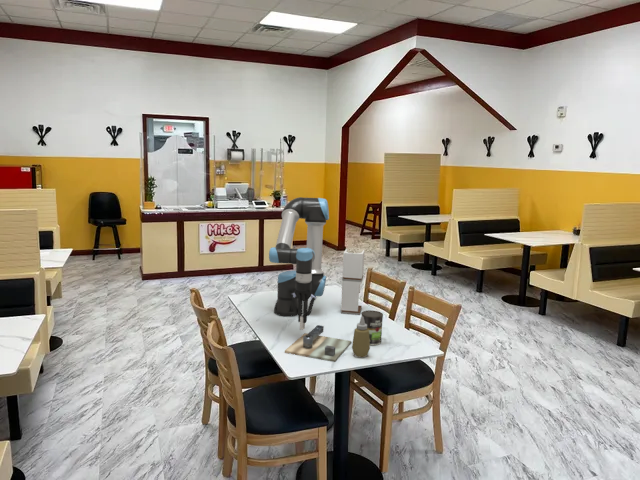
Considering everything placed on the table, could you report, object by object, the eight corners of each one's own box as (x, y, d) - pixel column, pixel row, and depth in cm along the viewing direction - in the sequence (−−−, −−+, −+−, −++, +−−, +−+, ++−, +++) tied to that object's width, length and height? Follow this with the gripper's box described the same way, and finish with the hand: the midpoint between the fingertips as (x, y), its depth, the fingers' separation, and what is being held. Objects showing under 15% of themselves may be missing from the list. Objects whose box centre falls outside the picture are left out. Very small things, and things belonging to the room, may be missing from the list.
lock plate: (284, 352, 223) (284, 338, 222) (304, 335, 245) (305, 321, 244) (335, 362, 215) (335, 346, 213) (351, 342, 237) (351, 329, 236)
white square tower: (359, 315, 278) (362, 254, 272) (340, 313, 279) (343, 252, 273) (361, 309, 289) (364, 250, 283) (343, 307, 290) (345, 249, 284)
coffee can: (385, 343, 238) (387, 315, 235) (367, 346, 233) (369, 318, 230) (373, 336, 246) (375, 309, 244) (356, 339, 242) (357, 311, 239)
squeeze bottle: (350, 351, 227) (352, 313, 223) (367, 351, 227) (369, 313, 224) (352, 358, 219) (354, 319, 216) (371, 358, 219) (373, 319, 216)
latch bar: (310, 348, 224) (310, 339, 224) (301, 347, 226) (301, 337, 225) (324, 335, 241) (324, 326, 241) (316, 334, 243) (316, 324, 242)
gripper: (287, 281, 233) (286, 329, 237) (313, 284, 228) (312, 333, 232) (294, 277, 240) (292, 324, 244) (319, 281, 235) (317, 328, 239)
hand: (302, 328), depth 238 cm, fingers closed
